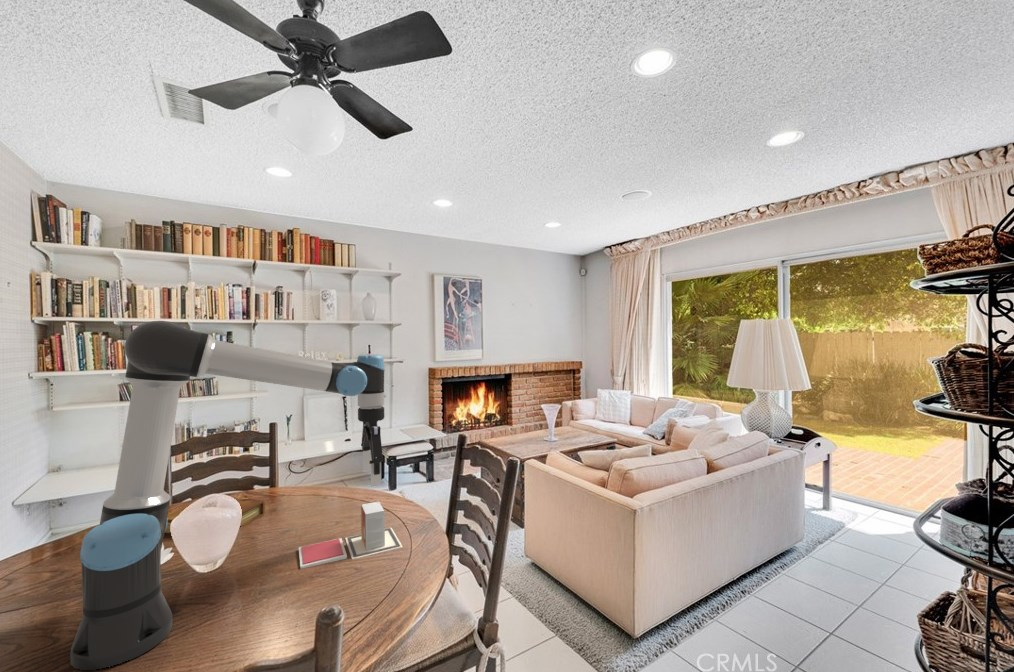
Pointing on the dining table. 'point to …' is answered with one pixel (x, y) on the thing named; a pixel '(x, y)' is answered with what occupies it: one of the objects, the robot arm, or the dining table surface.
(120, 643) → the robot arm
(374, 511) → the small box
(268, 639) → the dining table surface
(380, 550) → the card
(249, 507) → the diary
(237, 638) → the dining table surface
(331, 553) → the ink pad
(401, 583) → the dining table surface
